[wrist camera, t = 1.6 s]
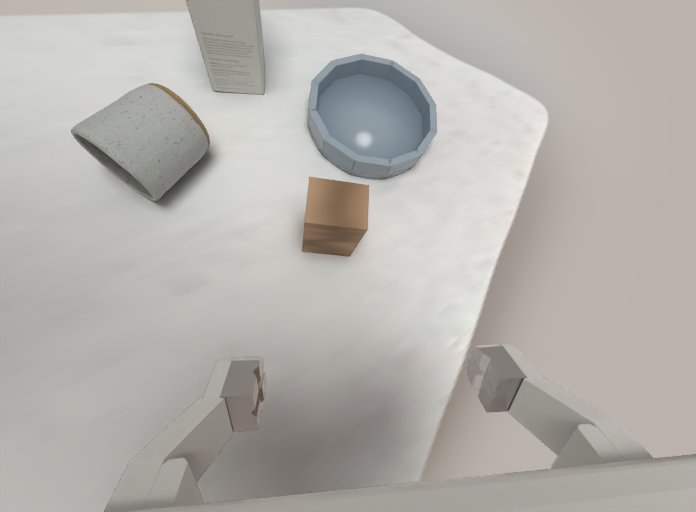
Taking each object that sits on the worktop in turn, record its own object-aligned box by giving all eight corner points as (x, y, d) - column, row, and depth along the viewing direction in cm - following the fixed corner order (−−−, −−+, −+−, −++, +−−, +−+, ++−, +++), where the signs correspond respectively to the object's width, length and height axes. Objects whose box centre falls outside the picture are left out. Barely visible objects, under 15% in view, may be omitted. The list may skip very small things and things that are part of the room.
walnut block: (302, 251, 30) (304, 222, 22) (305, 216, 31) (309, 176, 24) (349, 256, 31) (367, 229, 23) (351, 221, 32) (369, 185, 24)
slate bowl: (302, 169, 33) (303, 152, 30) (314, 67, 37) (315, 44, 34) (426, 187, 35) (438, 173, 32) (424, 89, 39) (434, 69, 36)
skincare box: (214, 39, 35) (161, -160, 21) (265, 43, 36) (247, -143, 22) (213, 95, 33) (153, -84, 19) (268, 98, 34) (249, -69, 20)
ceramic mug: (223, 157, 31) (201, 101, 24) (169, 213, 29) (125, 169, 21) (143, 104, 32) (96, 33, 24) (81, 156, 29) (8, 93, 22)
